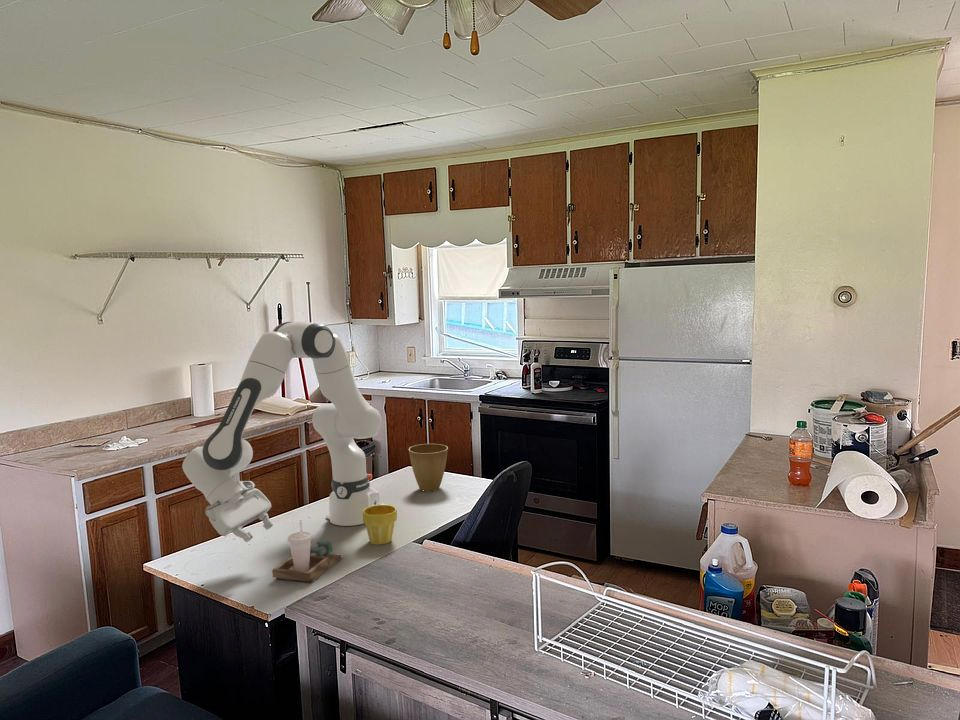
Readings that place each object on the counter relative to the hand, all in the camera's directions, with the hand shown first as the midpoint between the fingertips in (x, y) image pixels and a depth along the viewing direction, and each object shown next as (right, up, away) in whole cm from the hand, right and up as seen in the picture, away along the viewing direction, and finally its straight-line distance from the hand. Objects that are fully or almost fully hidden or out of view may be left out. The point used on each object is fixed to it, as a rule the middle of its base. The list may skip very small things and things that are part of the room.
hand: (260, 533), depth 185 cm
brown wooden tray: (+13, -10, +2) cm, 17 cm away
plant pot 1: (+30, -8, +20) cm, 37 cm away
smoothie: (+12, -10, -2) cm, 16 cm away
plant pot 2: (+41, -2, +72) cm, 83 cm away
